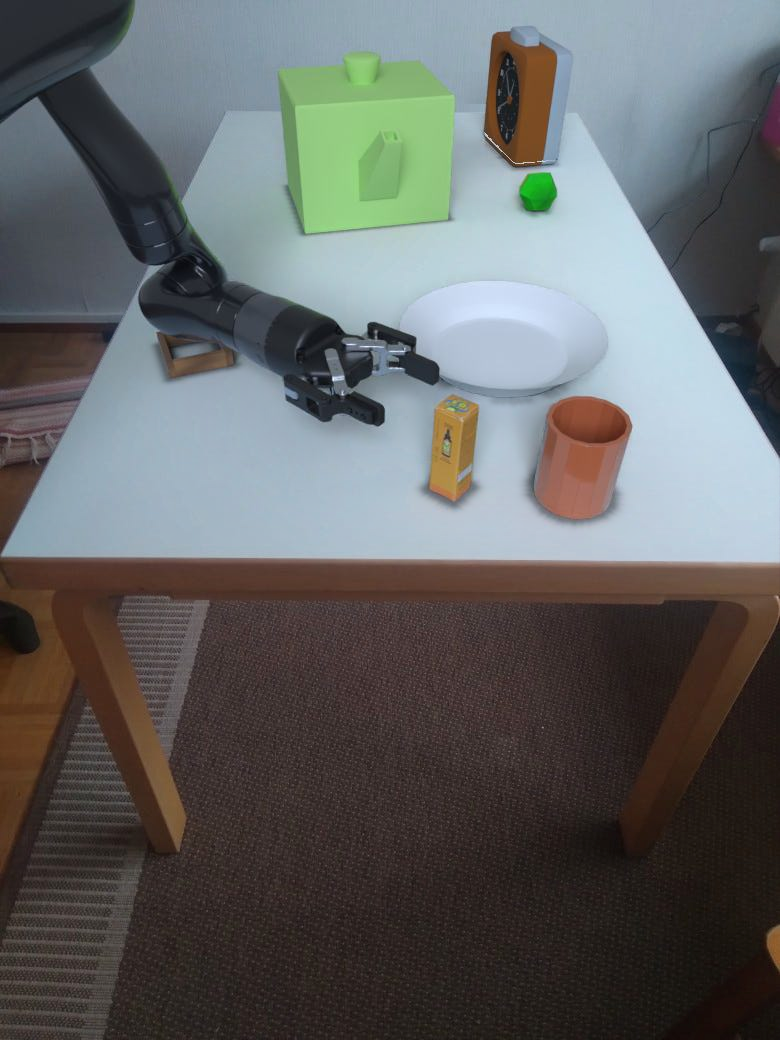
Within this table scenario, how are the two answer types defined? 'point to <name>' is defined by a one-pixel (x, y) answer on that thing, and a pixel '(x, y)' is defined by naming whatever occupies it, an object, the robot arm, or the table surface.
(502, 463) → the table surface
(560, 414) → the cup
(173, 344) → the wooden frame
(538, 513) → the table surface
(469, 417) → the supplement box
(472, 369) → the white plate
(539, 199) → the green faceted polyhedron
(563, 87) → the alarm clock
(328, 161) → the teapot
